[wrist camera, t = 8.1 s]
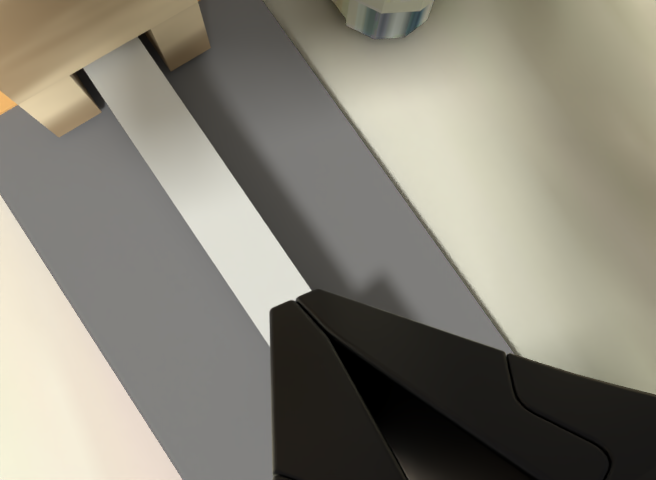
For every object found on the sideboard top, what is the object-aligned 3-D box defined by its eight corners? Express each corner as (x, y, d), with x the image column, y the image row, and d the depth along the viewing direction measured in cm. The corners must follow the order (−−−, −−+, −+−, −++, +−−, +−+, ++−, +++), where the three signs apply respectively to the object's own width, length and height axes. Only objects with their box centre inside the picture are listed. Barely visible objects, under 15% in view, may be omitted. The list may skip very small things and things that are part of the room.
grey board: (535, 391, 20) (588, 406, 16) (267, 601, 18) (262, 667, 15) (106, -212, 22) (72, -310, 19) (-168, -78, 21) (-261, -159, 17)
